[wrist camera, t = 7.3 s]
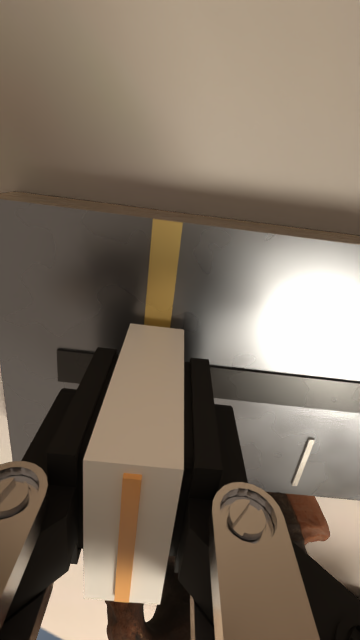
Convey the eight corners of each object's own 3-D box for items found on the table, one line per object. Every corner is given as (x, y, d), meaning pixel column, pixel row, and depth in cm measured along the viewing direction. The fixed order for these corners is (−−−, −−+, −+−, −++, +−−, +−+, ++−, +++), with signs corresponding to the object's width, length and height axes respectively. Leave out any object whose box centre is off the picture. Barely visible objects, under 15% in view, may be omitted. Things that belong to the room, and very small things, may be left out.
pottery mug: (368, 482, 17) (447, 733, 12) (253, 502, 24) (275, 666, 19) (146, 464, 12) (133, 859, 7) (84, 496, 19) (57, 711, 14)
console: (661, 274, 11) (758, 296, 9) (505, 477, 16) (551, 521, 14) (14, 191, 10) (-24, 196, 9) (34, 430, 15) (12, 470, 13)
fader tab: (184, 329, 10) (183, 475, 5) (169, 431, 11) (159, 610, 7) (130, 323, 10) (81, 465, 5) (123, 426, 11) (82, 604, 7)
